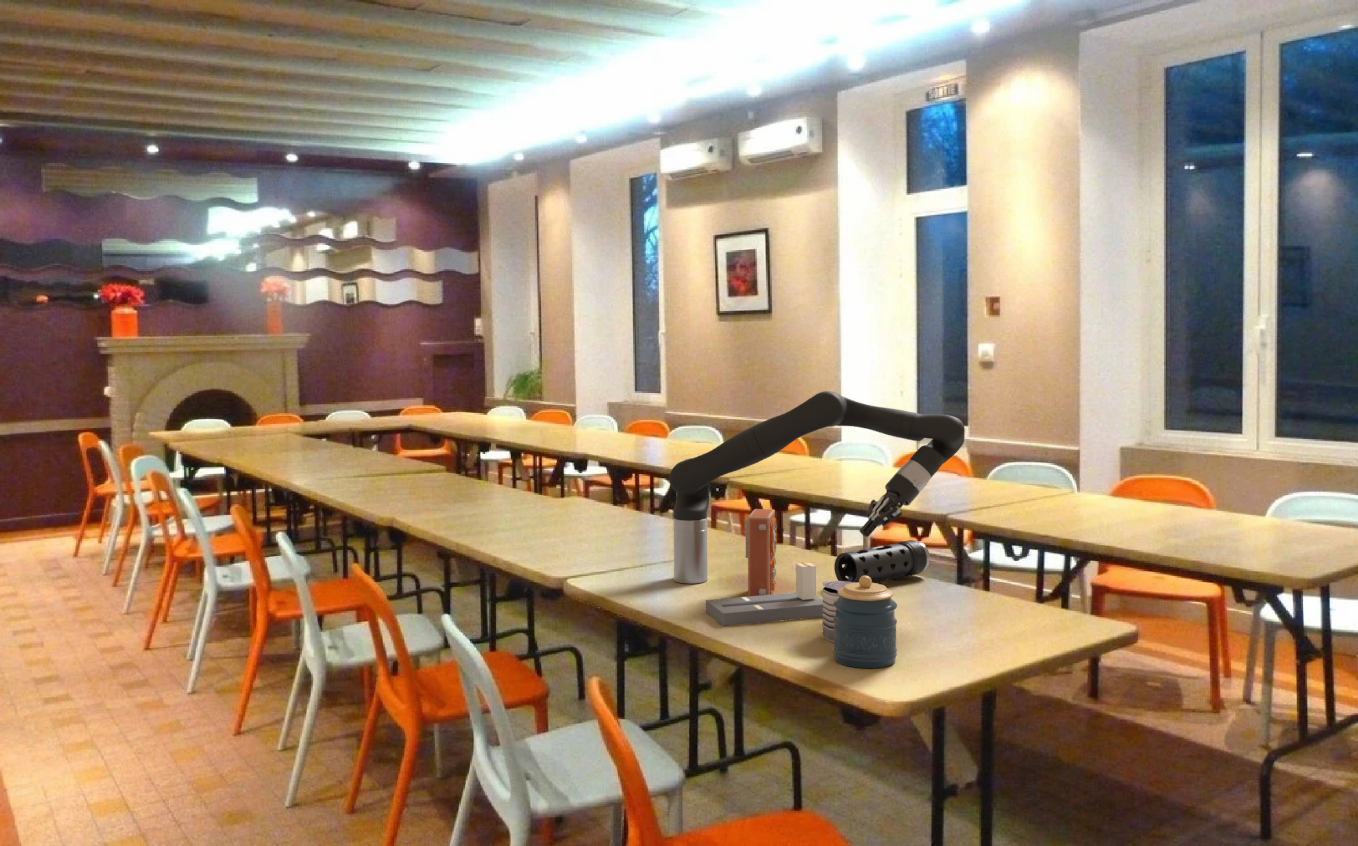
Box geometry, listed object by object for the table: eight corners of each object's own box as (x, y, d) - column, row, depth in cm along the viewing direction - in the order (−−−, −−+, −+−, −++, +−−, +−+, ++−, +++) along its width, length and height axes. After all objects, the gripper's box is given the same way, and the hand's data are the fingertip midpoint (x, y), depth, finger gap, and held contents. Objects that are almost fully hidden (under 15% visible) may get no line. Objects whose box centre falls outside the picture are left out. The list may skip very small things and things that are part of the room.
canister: (838, 648, 233) (838, 567, 231) (899, 653, 229) (900, 570, 227) (828, 666, 220) (828, 581, 219) (893, 671, 217) (894, 584, 215)
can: (819, 630, 247) (819, 578, 246) (870, 630, 247) (870, 578, 246) (824, 644, 236) (825, 590, 234) (877, 644, 235) (878, 590, 234)
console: (705, 612, 263) (705, 599, 263) (808, 603, 271) (808, 590, 271) (723, 626, 251) (723, 613, 251) (830, 616, 259) (830, 603, 259)
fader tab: (795, 596, 265) (795, 563, 264) (809, 594, 266) (809, 562, 265) (802, 599, 261) (802, 566, 261) (816, 598, 262) (816, 565, 262)
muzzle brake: (833, 587, 288) (833, 549, 287) (905, 573, 304) (906, 536, 303) (858, 594, 280) (859, 555, 279) (932, 579, 297) (932, 541, 296)
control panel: (778, 589, 286) (771, 603, 272) (751, 587, 288) (743, 601, 273) (778, 508, 285) (771, 518, 270) (751, 507, 286) (743, 517, 271)
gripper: (885, 469, 275) (841, 519, 272) (912, 475, 262) (865, 529, 260) (904, 488, 277) (860, 539, 274) (931, 496, 264) (885, 549, 262)
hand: (863, 534), depth 267 cm, fingers closed
